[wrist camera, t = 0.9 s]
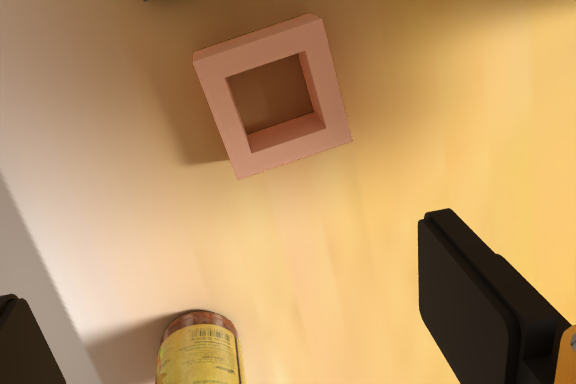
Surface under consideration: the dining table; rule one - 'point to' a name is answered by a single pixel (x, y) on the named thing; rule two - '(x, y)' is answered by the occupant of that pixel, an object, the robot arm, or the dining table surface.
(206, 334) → the sauce bottle
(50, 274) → the dining table surface
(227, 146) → the square ring block
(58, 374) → the robot arm
